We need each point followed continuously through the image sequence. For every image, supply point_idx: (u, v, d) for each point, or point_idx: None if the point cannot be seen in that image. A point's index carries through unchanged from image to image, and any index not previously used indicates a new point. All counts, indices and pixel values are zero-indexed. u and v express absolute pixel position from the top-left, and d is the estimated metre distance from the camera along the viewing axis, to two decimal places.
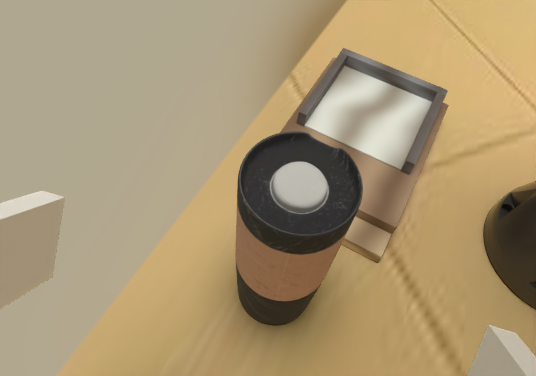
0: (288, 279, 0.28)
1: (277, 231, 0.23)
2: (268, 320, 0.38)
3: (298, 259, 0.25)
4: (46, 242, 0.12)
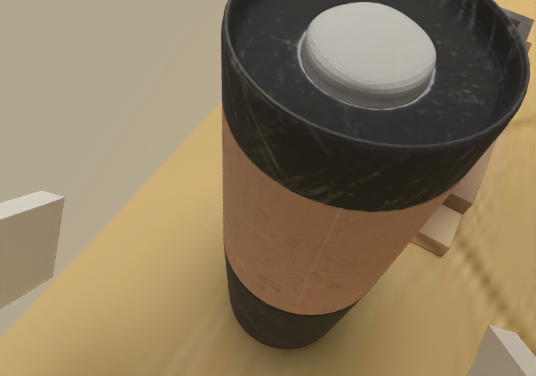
0: (324, 272, 0.13)
1: (322, 135, 0.08)
2: (275, 342, 0.23)
3: (360, 225, 0.11)
4: (46, 242, 0.12)
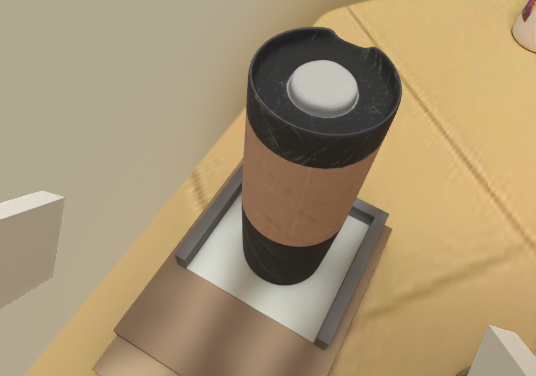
0: (305, 210, 0.23)
1: (298, 131, 0.18)
2: (277, 278, 0.33)
3: (321, 177, 0.21)
4: (46, 242, 0.12)
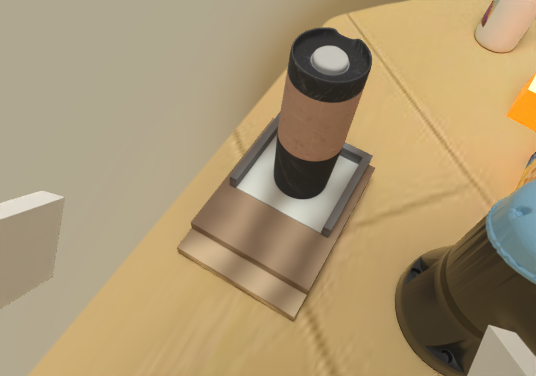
0: (319, 132, 0.41)
1: (317, 79, 0.36)
2: (297, 191, 0.51)
3: (328, 108, 0.38)
4: (46, 242, 0.12)
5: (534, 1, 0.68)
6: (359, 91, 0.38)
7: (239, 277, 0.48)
